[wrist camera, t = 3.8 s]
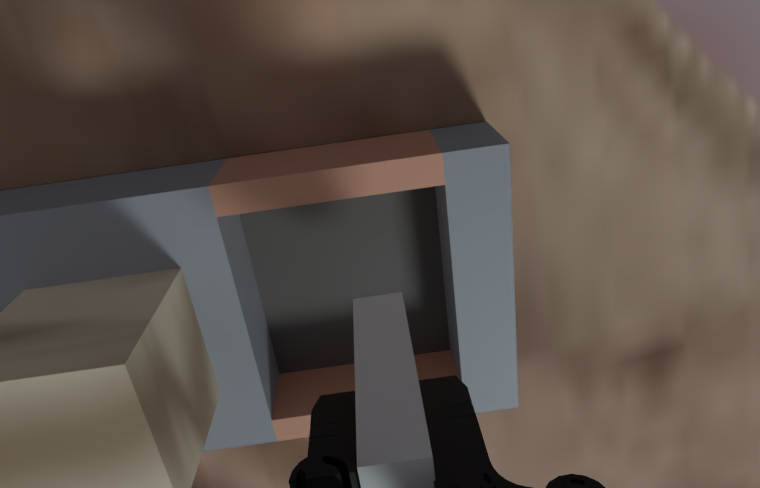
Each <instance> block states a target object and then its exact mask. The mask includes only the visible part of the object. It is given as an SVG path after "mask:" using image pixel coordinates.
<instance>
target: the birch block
mask: <svg viewBox="0 0 760 488" xmlns="http://www.w3.org/2000/svg"><path fill="white" fill-rule="evenodd" d="M219 397H220V390H219V387H218V384H217V381H216V378H215V374H214V371H213V368H212V365H211V362H210V358H209V355H208V352H207V349H206V346H205V342H204V339H203V336H202V333H201V330H200V326H199V323H198V320H197V317H196V314H195V310H194V307H193V304H192V301H191V297H190V294H189V291H188V288H187V285H186V281H185V278H184V275H183V272H182V269H181V268H177V269H170V270H163V271H156V272H149V273H142V274H135V275H128V276H121V277H114V278H106V279H99V280H92V281H85V282H78V283H71V284H64V285H57V286H50V287H43V288H36V289H29V290H24V291H23V292H22V293H21V294H19V295H18V296H17V297H16V298H15V299H14V300H13V301H12V302H11V303H10V304H9V305H8V306H7V307H6V308H5V309H4V310H2V311H1V312H0V488H192V484H193V481H194V478H195V475H196V471H197V468H198V465H199V462H200V458H201V455H202V452H203V449H204V445H205V442H206V439H207V436H208V432H209V429H210V426H211V423H212V419H213V416H214V413H215V410H216V406H217V403H218V400H219Z"/></svg>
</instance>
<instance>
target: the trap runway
mask: <svg viewBox="0 0 760 488" xmlns="http://www.w3.org/2000/svg"><path fill="white" fill-rule="evenodd" d="M177 268H181V269H182V272H183V275H184V278H185V281H186V285H187V288H188V291H189V294H190V297H191V301H192V304H193V307H194V310H195V314H196V317H197V320H198V323H199V326H200V330H201V333H202V336H203V339H204V342H205V346H206V349H207V352H208V355H209V358H210V362H211V365H212V368H213V371H214V374H215V378H216V381H217V384H218V387H219V390H220V397H219V400H218V403H217V406H216V410H215V413H214V416H213V419H212V423H211V426H210V429H209V432H208V436H207V439H206V442H205V445H204V449H203V452H205V451H212V450H219V449H226V448H233V447H240V446H247V445H254V444H261V443H268V442H276V441H283V440H290V439H297V438H304V437H309V434H310V422H311V410H312V408H313V407H314V405H315V404H316V402H317V400H318V399H319V397H320V395H327V394H334V393H341V392H348V391H355V366H354V325H353V299H356V298H363V297H370V296H377V295H384V294H391V293H398V292H402V294H403V300H404V305H405V310H406V316H407V321H408V326H409V332H410V337H411V343H412V348H413V353H414V359H415V364H416V370H417V375H418V380H424V379H432V378H439V377H446V376H453V375H456V376H457V377H458V378H459V379H460V380H461V381H462V382H463V383H464V384H465V385H466V386H467V387H468V391H469V394H470V397H471V401H472V405H473V407H474V410H475V413H481V412H489V411H496V410H503V409H510V408H517V407H518V378H517V349H516V319H515V290H514V260H513V231H512V202H511V172H510V143H509V142H508V141H506V140H505V139H504V138H503V137H502V136H501V135H500V134H499V133H498V132H497V131H496V130H495V129H494V128H493V127H492V126H491V125H490V124H488V123H487V122H480V123H473V124H466V125H459V126H452V127H445V128H438V129H431V130H424V131H416V132H409V133H402V134H395V135H388V136H381V137H374V138H367V139H360V140H353V141H346V142H339V143H332V144H325V145H318V146H311V147H304V148H297V149H290V150H283V151H276V152H269V153H262V154H255V155H248V156H241V157H234V158H227V159H220V160H213V161H206V162H199V163H192V164H184V165H177V166H170V167H163V168H156V169H149V170H142V171H135V172H128V173H121V174H114V175H107V176H100V177H93V178H86V179H79V180H72V181H65V182H58V183H51V184H44V185H37V186H30V187H23V188H16V189H9V190H2V191H0V312H1V311H2V310H4V309H5V308H6V307H7V306H8V305H9V304H10V303H11V302H12V301H13V300H14V299H15V298H16V297H17V296H18V295H19V294H21V293H22V292H23V291H24V290H29V289H36V288H43V287H50V286H57V285H64V284H71V283H78V282H85V281H92V280H99V279H106V278H114V277H121V276H128V275H135V274H142V273H149V272H156V271H163V270H170V269H177Z"/></svg>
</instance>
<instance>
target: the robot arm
mask: <svg viewBox="0 0 760 488" xmlns="http://www.w3.org/2000/svg"><path fill="white" fill-rule="evenodd" d="M353 325H354V366H355V391H348V392H341V393H334V394H327V395H320V397H319V399H318V400H317V402H316V404H315V405H314V407H313V408H312V410H311V422H310V434H309V447H308V457H307V458H305V459H304V460H302V461H301V462H299V464H298V465H297V466H296V467H295V468H294V469H293V471H292V473H291V476H290V479H289V485H290V488H531V487H525V486H521V485H517V484H514V483H512V482H510V481H508V480H506V479H504V478H503V477H502V476H500V475H499V474H498V473H497V472H496V470H495V469H494V468H493V466H492V464H491V462H490V460H489V456H488V453H487V450H486V446H485V443H484V440H483V437H482V433H481V430H480V427H479V423H478V420H477V417H476V414H475V410H474V407H473V405H472V401H471V397H470V394H469V391H468V387H467V386H466V385H465V384H464V383H463V382H462V381H461V380H460V379H459V378H458V377H457V376H456V375H453V376H446V377H439V378H432V379H424V380H418V375H417V370H416V364H415V359H414V353H413V348H412V343H411V337H410V332H409V326H408V321H407V316H406V310H405V305H404V300H403V294H402V292H398V293H391V294H384V295H377V296H370V297H363V298H356V299H353ZM546 488H605V487H604V486H603V485H602V484H600V483H599V482H598V481H596V480H593V479H591V478H589V477H587V476H583V475H575V474H568V475H563V476H558V477H557V478H555V479H553V480H552V481H550V482H549V483H548V485H547V486H546Z"/></svg>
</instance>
